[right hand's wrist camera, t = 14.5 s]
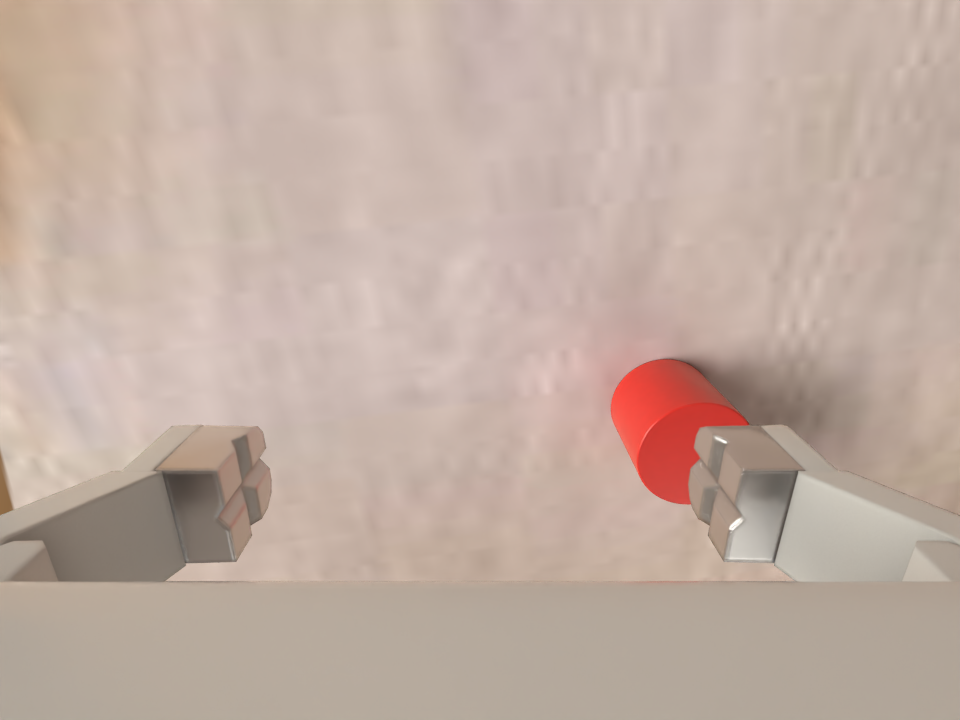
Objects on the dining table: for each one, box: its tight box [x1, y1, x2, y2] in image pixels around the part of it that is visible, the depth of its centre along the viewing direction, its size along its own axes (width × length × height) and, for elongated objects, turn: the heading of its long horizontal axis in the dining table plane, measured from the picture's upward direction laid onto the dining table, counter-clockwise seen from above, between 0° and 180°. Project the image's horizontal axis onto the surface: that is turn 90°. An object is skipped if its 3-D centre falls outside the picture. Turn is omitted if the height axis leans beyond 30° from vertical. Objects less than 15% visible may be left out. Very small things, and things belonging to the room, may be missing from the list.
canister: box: [611, 359, 749, 504], centre depth 22 cm, size 4×4×4 cm
